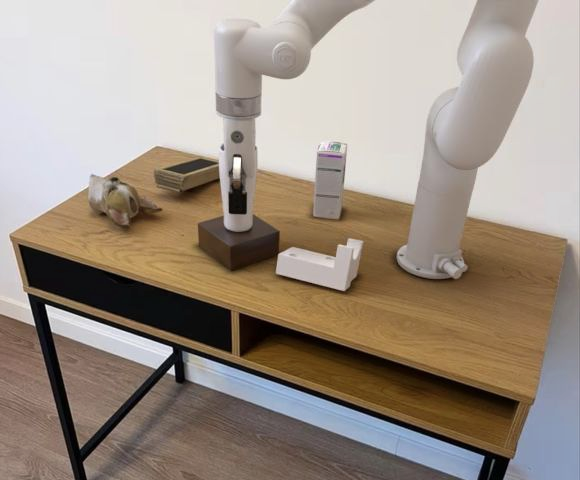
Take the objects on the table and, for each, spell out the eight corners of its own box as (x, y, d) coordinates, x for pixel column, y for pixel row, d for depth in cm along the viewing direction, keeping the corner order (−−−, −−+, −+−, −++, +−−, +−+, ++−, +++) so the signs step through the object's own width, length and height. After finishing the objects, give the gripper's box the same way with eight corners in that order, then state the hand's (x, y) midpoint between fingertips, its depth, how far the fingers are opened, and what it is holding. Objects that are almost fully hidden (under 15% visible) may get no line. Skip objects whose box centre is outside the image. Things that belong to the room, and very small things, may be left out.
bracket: (355, 281, 116) (363, 241, 113) (344, 291, 110) (352, 248, 107) (289, 265, 120) (295, 225, 117) (275, 273, 113) (281, 232, 110)
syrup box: (339, 220, 134) (346, 152, 125) (311, 217, 134) (316, 149, 125) (341, 208, 138) (348, 142, 129) (315, 205, 139) (320, 139, 130)
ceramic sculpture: (110, 158, 131) (164, 182, 125) (113, 197, 136) (165, 221, 131) (69, 174, 124) (124, 200, 118) (74, 214, 129) (127, 240, 124)
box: (151, 191, 137) (152, 168, 134) (203, 173, 156) (204, 153, 153) (185, 200, 135) (186, 177, 132) (233, 181, 153) (235, 160, 151)
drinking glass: (255, 236, 116) (256, 155, 106) (218, 234, 115) (216, 153, 106) (257, 219, 121) (258, 141, 112) (221, 217, 121) (220, 139, 112)
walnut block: (278, 254, 121) (279, 231, 118) (230, 271, 115) (230, 246, 112) (245, 232, 127) (245, 209, 124) (198, 246, 122) (197, 222, 119)
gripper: (260, 122, 98) (258, 226, 109) (262, 89, 112) (260, 184, 122) (211, 120, 97) (214, 224, 108) (219, 87, 111) (221, 183, 122)
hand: (238, 202), depth 115 cm, fingers open, 7 cm apart
